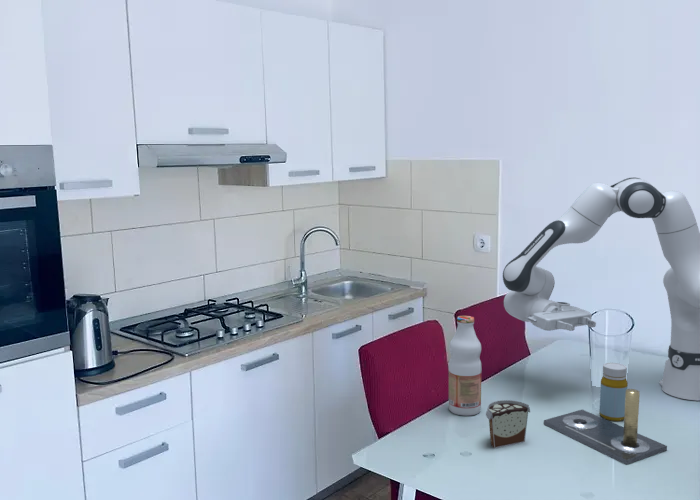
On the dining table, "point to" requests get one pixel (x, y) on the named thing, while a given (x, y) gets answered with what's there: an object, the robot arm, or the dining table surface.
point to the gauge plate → (609, 432)
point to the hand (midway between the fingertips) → (583, 326)
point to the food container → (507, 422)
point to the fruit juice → (465, 369)
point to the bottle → (613, 391)
